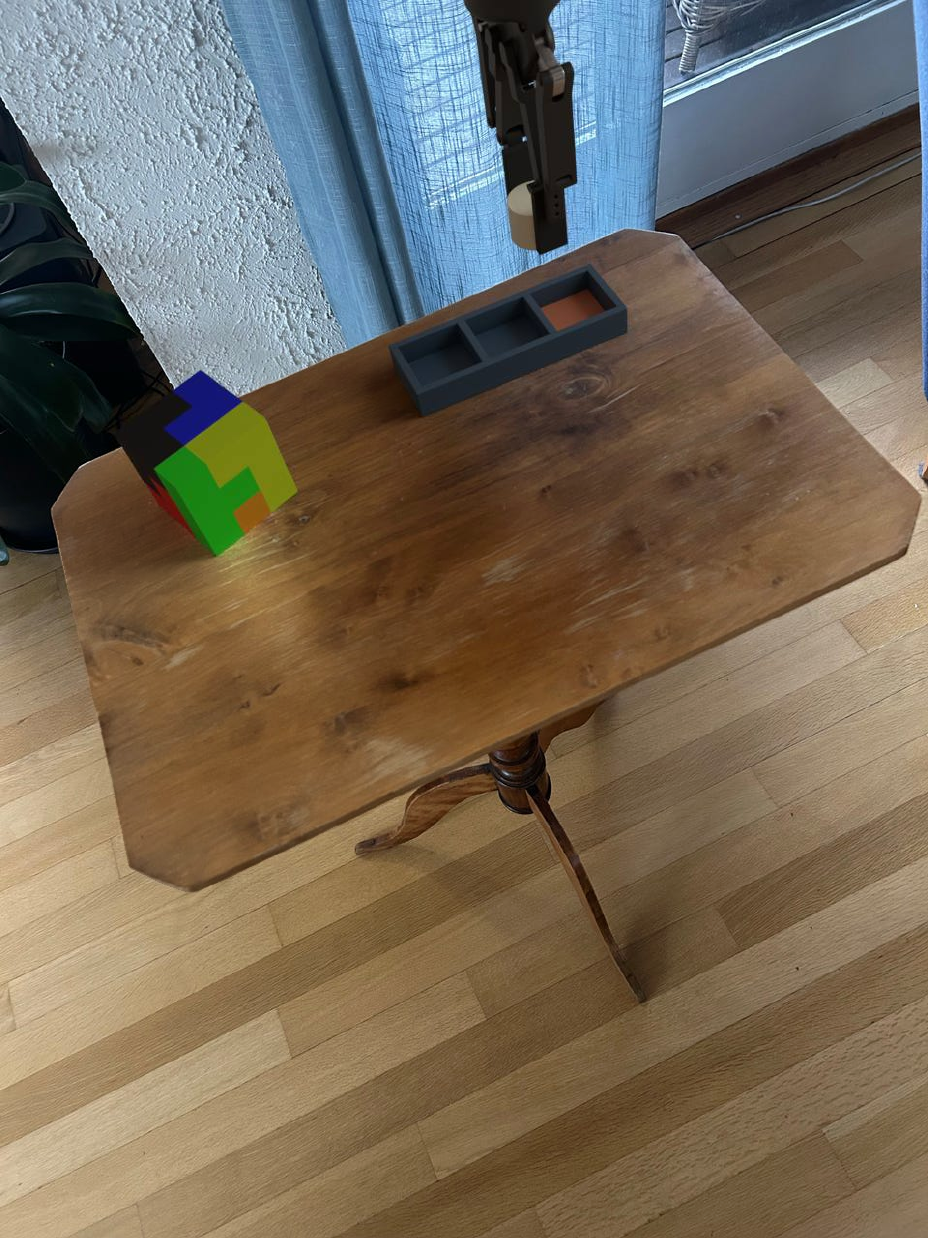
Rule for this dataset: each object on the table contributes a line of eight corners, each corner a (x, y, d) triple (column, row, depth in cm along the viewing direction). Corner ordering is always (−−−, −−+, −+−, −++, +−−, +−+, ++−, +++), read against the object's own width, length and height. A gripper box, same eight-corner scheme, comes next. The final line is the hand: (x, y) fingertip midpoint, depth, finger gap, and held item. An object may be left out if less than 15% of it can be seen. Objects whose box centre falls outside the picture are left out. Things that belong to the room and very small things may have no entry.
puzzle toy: (237, 443, 100) (200, 369, 92) (298, 491, 95) (265, 417, 87) (158, 504, 97) (113, 433, 89) (216, 556, 92) (175, 487, 84)
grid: (627, 332, 100) (627, 307, 98) (422, 417, 98) (416, 394, 95) (591, 287, 105) (590, 262, 102) (394, 367, 102) (388, 344, 100)
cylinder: (577, 236, 87) (574, 201, 84) (525, 258, 86) (521, 222, 83) (552, 207, 89) (549, 172, 87) (502, 227, 89) (497, 193, 86)
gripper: (413, -89, 73) (460, 193, 92) (515, 10, 63) (544, 303, 82) (505, -123, 74) (533, 164, 93) (620, -30, 64) (624, 270, 83)
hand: (538, 229), depth 88 cm, fingers closed on cylinder, 5 cm apart
